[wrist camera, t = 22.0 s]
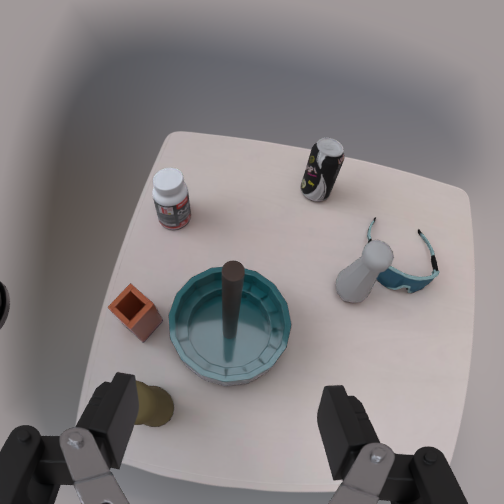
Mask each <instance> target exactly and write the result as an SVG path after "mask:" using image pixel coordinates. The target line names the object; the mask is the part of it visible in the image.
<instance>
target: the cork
mask: <svg viewBox="0 0 504 504" xmlns="http://www.w3.org/2000/svg"><path fill="white" fill-rule="evenodd" d="M136 386H137V392H138V399H139V411H138V415H137V418H136V421H135V424H134V425H141V424H145V425H147V426H151V427H159V426H161V425H164V424H166V423H167V422H168V421H169V420H170V418H171V417H172V415H173V411H174V405H173V401H172V398H171V396H170V395H169V394H168V393H167V392H166V391H165V390H164V389H162V388H160V387H157V386H148V385H146V384H145V383H143V382H140V381H136Z"/></svg>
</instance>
